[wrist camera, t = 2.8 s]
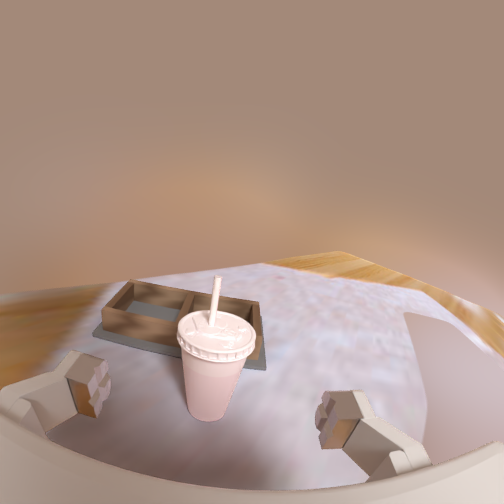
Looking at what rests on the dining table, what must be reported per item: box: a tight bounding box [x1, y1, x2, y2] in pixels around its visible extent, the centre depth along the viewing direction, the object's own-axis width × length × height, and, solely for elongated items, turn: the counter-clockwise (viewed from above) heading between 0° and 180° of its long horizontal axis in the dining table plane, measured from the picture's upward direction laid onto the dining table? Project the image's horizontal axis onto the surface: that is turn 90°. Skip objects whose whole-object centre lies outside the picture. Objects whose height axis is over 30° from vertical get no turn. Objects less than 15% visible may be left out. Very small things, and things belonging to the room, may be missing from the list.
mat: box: [92, 301, 266, 370], centre depth 38 cm, size 22×13×1 cm, turn 91°
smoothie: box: [177, 275, 256, 422], centre depth 23 cm, size 6×6×14 cm
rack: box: [102, 279, 262, 360], centre depth 37 cm, size 20×10×3 cm, turn 91°
